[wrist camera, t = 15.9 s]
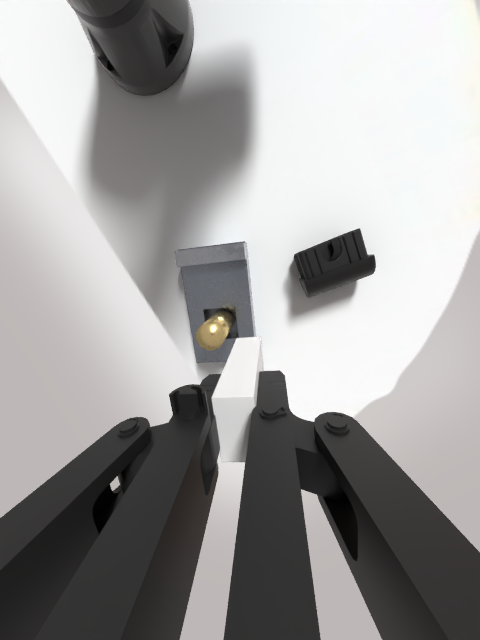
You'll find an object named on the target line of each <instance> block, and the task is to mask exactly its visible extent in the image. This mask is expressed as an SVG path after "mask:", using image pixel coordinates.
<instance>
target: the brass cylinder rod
mask: <svg viewBox="0 0 480 640" xmlns="http://www.w3.org/2000/svg"><path fill="white" fill-rule="evenodd" d="M233 325H234V317H233V315H232V314H231V313H230V312H229V311H227V310H219V311H217V312H216V313H215V314H213V315H212V316H211V317H210V318H209V319H208V320H207V321H206V322H205V323H203V324H202V325H201V326H200V327H199V328H198V330H197V332H196V340H197V342H198V344H199V345H200V346H201V347H202V348H204V349H206V350H216V349H218V348H219V347H220V346H221V345H222V344H223V342H224V340H225V339H226V337H227V335H228V333H229V332H230V330H231V328H232V327H233Z"/></svg>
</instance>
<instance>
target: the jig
mask: <svg viewBox="0 0 480 640" xmlns="http://www.w3.org/2000/svg"><path fill="white" fill-rule="evenodd" d="M175 257H176V263H177V267H181V271H182V277H183V283H184V289H185V295H186V301H187V307H188V313H189V319H190V325H191V331H192V337H193V343H194V349H195V355H196V361H197V363H203V362H221V361H227V360H228V357H229V355H230V353H231V350H232V348H233V346H234V343H235V341H236V338H246V337H256V332H255V322H254V312H253V302H252V292H251V282H250V271H249V261H248V251H247V243H246V242H245V241H244V242H236V243H229V244H221V245H213V246H205V247H197V248H189V249H182V250H178V251H175ZM219 310H227V311H229V312H230V313H231V314H232V315H233V317H234V325H233V327H232V328H231V330H230V332H229V333H228V335H227V337H226V339H225V340H224V342H223V344H222V345H221V346H220V347H219V348H218V349H216V350H206V349H204V348H202V347H201V346H200V345H199V344H198V342H197V340H196V332H197V330H198V328H199V327H200V326H201V325H202V324H203V323H205V322H206V321H207V320H208V319H209V318H210V317H211V316H212V315H213V314H215V313H216V312H217V311H219Z"/></svg>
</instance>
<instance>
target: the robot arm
mask: <svg viewBox="0 0 480 640" xmlns="http://www.w3.org/2000/svg"><path fill="white" fill-rule="evenodd" d="M67 2H68V3H69V4H70V5H71V7H72V8H73V9H74V11H75V12H76V14H77V16H78V19H79V21H80V23H81V25H82V27H83V30H84V32H85V34H86V36H87V38H88V41H89V43H90V45H91V47H92V49H93V51H94V53H95V55H96V57H97V59H98V60H99V62H100V63H101V65H102V66H103V68H104V69H105V70H106V71H107V72H108V74H109V75H110V76H111V77H112V78H113V79H114V80H115V81H116V82H117V83H118V84H119V85H120V86H121V87H123V88H124V89H126V90H127V91H129V92H132V93H135V94H139V95H152V94H156V93H159V92H161V91H163V90H165V89H167V88H168V87H170V86H171V85H172V84H173V83H174V82H175V81H176V80H177V79H178V78H179V76H180V75H181V73H182V72H183V70H184V68H185V66H186V64H187V62H188V59H189V56H190V53H191V49H192V44H193V33H194V28H193V17H192V11H191V7H190V4H189V1H188V0H67ZM169 397H170V402H171V407H172V411H173V416H172V418H171V419H170V421H169V423H166V424H162V425H158V426H153V427H150V424H149V422H148V420H147V419H146V418H143V417H135V418H130V419H127V420H125V421H123V422H121V423H119V424H118V425H116V426H115V427H113V428H112V429H111V430H110V431H108V432H107V433H106V434H105V435H103V436H102V437H101V438H100V439H98V440H97V441H96V442H95V443H93V444H92V445H91V446H90V447H88V448H87V449H86V450H85V451H83V452H82V453H81V454H80V455H78V456H77V457H76V458H75V459H74V460H72V461H71V462H70V463H69V464H67V465H66V466H65V467H64V468H62V469H61V470H60V471H59V472H57V473H56V474H55V475H54V476H52V477H51V478H50V479H49V480H47V481H46V482H45V483H44V484H42V485H41V486H40V487H39V488H37V489H36V490H35V491H34V492H33V493H31V494H30V495H29V496H28V497H26V498H25V499H24V500H23V501H21V502H20V503H19V504H17V505H16V506H15V507H14V508H12V509H11V510H10V511H9V512H8V513H6V514H5V515H4V516H3V517H1V518H0V640H179V639H180V635H181V631H182V626H183V622H184V618H185V613H186V609H187V605H188V601H189V597H190V592H191V588H192V584H193V580H194V575H195V571H196V566H197V563H198V558H199V554H200V550H201V546H202V542H203V537H204V533H205V529H206V524H207V520H208V516H209V512H210V507H211V503H212V499H213V495H214V491H215V486H216V482H217V478H218V464H217V459H218V455H219V451H220V456H221V462H245V470H244V478H243V486H242V494H241V502H240V511H239V519H238V527H237V535H236V543H235V551H234V560H233V568H232V576H231V584H230V593H229V601H228V610H227V617H226V626H225V633H224V640H321V639H320V632H319V625H318V617H317V609H316V602H315V594H314V587H313V579H312V572H311V564H310V556H309V549H308V542H307V534H306V528H305V527H306V526H305V520H304V512H303V504H302V496H301V489H302V490H305V491H308V492H311V493H314V494H317V495H318V499H319V502H320V504H321V506H322V508H323V510H324V513H325V515H326V517H327V519H328V521H329V524H330V526H331V528H332V530H333V532H334V535H335V537H336V539H337V541H338V543H339V545H340V548H341V550H342V552H343V554H344V557H345V559H346V561H347V563H348V565H349V567H350V570H351V572H352V574H353V576H354V578H355V580H356V583H357V585H358V587H359V589H360V592H361V594H362V596H363V598H364V600H365V603H366V605H367V607H368V609H369V611H370V613H371V616H372V618H373V620H374V622H375V625H376V627H377V629H378V631H379V633H380V636H381V638H382V639H383V640H480V552H479V551H478V550H477V549H476V548H475V547H474V546H473V545H472V544H471V543H470V542H469V541H468V540H467V538H466V537H465V536H464V535H463V534H462V533H461V532H460V531H459V530H458V529H457V528H456V527H455V526H454V525H453V523H451V521H450V520H449V519H448V518H447V517H446V516H445V515H444V514H443V513H442V512H441V511H440V510H439V509H438V508H437V506H436V505H435V504H434V503H433V502H432V501H431V500H430V499H429V498H428V497H427V496H426V495H425V493H423V491H422V490H421V489H420V488H419V487H418V486H417V485H416V484H415V483H414V482H413V481H412V480H411V478H410V477H409V476H408V475H407V474H406V473H405V472H404V471H403V470H402V469H401V468H400V467H399V466H398V465H397V463H395V461H394V460H392V458H391V457H390V456H389V455H388V454H387V453H386V452H385V451H384V450H383V448H382V447H380V445H379V444H378V443H377V442H376V441H375V440H374V439H373V438H372V437H371V436H370V435H369V434H368V432H367V431H366V430H365V429H364V428H363V427H362V426H361V425H360V424H359V423H358V422H357V421H356V420H354V419H353V418H352V417H350V416H348V415H345V414H342V413H337V412H326V413H323V414H321V415H319V416H318V417H317V418H315V422H311V421H307V420H303V419H301V418H298V417H296V416H295V415H294V414H293V413H292V412H291V411H290V409H289V404H288V397H287V389H286V382H285V375H284V374H283V373H282V372H281V371H264V366H263V356H262V345H261V337H246V338H236V341H235V343H234V346H233V348H232V350H231V353H230V355H229V357H228V360H227V362H226V365H225V367H224V369H223V372H222V374H212V375H208V376H207V377H206V378H205V379H203V380H202V382H201V384H200V385H194V384H192V385H185V386H183V387H180V388H177V389H176V390H174V391H172V392H171V393H170V394H169ZM116 476H118V479H119V482H120V485H119V487H118V488H116V489H115V490H114V491H112V490H111V487H110V483H111V482H112V481H113V480H114V479H115V478H116Z"/></svg>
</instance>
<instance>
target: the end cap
mask: <svg viewBox="0 0 480 640" xmlns="http://www.w3.org/2000/svg"><path fill="white" fill-rule="evenodd" d="M294 258H295V261H296V264H297V267H298V270H299V273H300V275H301V278H299V280H300V283H301V285H302V288H303V290H304V292H305V294H306V296H307V297H312V296H315V295H318V294H320V293H323V292H326V291H329V290H331V289H334V288H337V287H339V286H342V285H345V284H348V283H350V282H353V281H356V280H359V279H361V278H364V277H367V276H369V275H372V274H373V273H374V272H375V268H376V262H375V256H374V255H367V251H366V248H365V244H364V241H363V237H362V234H361V230H360V228H359V229H356V230H353V231H350V232H348V233H345V234H343V235H340V236H338V237H335V238H333V239H330V240H328V241H326V242H323V243H321V244H318V245H316V246H313V247H311V248H309V249H306V250H304V251H301V252H299V253H296V254H294Z"/></svg>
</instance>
